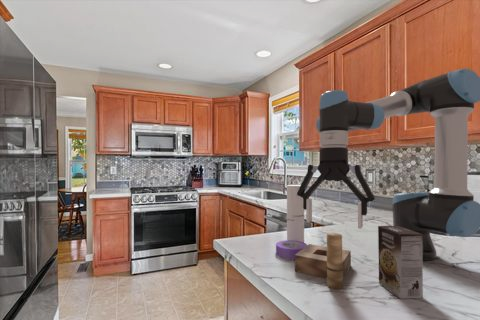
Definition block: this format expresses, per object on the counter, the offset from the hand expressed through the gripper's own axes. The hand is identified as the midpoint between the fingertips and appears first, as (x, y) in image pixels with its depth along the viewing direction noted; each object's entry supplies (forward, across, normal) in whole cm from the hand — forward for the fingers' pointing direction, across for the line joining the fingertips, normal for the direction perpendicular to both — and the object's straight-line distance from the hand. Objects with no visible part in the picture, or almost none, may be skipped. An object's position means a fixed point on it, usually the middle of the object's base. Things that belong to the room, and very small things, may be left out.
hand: (333, 224), depth 72 cm
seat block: (+17, -6, +11) cm, 21 cm away
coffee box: (+17, +15, +7) cm, 24 cm away
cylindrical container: (+17, -23, +31) cm, 42 cm away
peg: (+17, 0, 0) cm, 17 cm away
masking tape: (+17, -20, +19) cm, 33 cm away
